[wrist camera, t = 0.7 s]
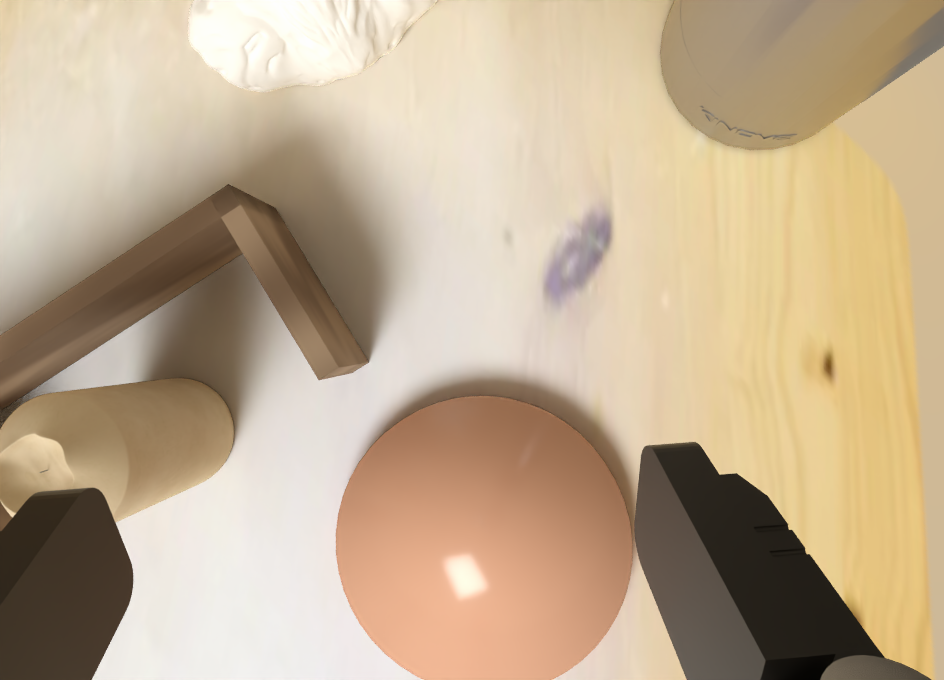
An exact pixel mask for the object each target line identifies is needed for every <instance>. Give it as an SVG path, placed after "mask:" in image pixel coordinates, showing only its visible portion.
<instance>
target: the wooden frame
mask: <svg viewBox="0 0 944 680" xmlns="http://www.w3.org/2000/svg"><path fill="white" fill-rule="evenodd" d="M242 253H243V255H244V256H245V258H246V260H247V261H248V263H249V265H250V266H251V268H252V270H253V271H254V273H255V275H256V276H257V278H258V280H259V281H260V283H261V285H262V286H263V288H264V290H265V291H266V293H267V295H268V296H269V298H270V300H271V301H272V303H273V305H274V306H275V308H276V310H277V311H278V313H279V315H280V316H281V318H282V320H283V321H284V323H285V325H286V326H287V328H288V330H289V331H290V333H291V335H292V336H293V338H294V340H295V341H296V343H297V345H298V346H299V348H300V350H301V351H302V353H303V355H304V356H305V358H306V360H307V361H308V363H309V365H310V366H311V368H312V370H313V371H314V373H315V375H316V376H317V378H318V380H322V379H327V378H331V377H336V376H340V375H345V374H349V373H353V372H354V371H356V370H357V369H359V368H361V367H362V366H364V365H365V364H367V363H369V362H368V360H367V359H366V357H365V355H364V354H363V352H362V350H361V349H360V347H359V345H358V344H357V342H356V340H355V339H354V337H353V335H352V334H351V332H350V330H349V329H348V327H347V325H346V324H345V322H344V321H343V319H342V317H341V316H340V314H339V312H338V311H337V309H336V307H335V306H334V304H333V302H332V301H331V299H330V297H329V296H328V294H327V292H326V291H325V289H324V287H323V286H322V284H321V282H320V281H319V279H318V278H317V276H316V274H315V273H314V271H313V269H312V268H311V266H310V264H309V263H308V261H307V259H306V258H305V256H304V254H303V253H302V251H301V249H300V248H299V246H298V244H297V243H296V241H295V240H294V238H293V236H292V235H291V233H290V231H289V230H288V228H287V226H286V225H285V223H284V221H283V220H282V218H281V216H280V215H279V213H278V211H277V210H276V208H274V207H272V206H270V205H268V204H266V203H264V202H262V201H260V200H258V199H256V198H254V197H253V196H251V195H249V194H247V193H245V192H243V191H241V190H239V189H237V188H235V187H233V186H231V185H229V184H228V185H227V186H225V187H224V188H222V189H221V190H219V191H218V192H216V193H215V194H213V195H212V196H210V197H209V198H207V199H206V200H204V201H203V202H201V203H200V204H198V205H197V206H195V207H194V208H192V209H191V210H189V211H188V212H186V213H184V214H183V215H181V216H180V217H178V218H177V219H175V220H174V221H172V222H171V223H169V224H168V225H166V226H165V227H163V228H162V229H160V230H159V231H157V232H156V233H154V234H153V235H151V236H150V237H148V238H147V239H145V240H144V241H142V242H141V243H139V244H138V245H136V246H135V247H133V248H132V249H130V250H129V251H127V252H126V253H124V254H123V255H121V256H120V257H118V258H117V259H115V260H114V261H112V262H111V263H109V264H107V265H106V266H104V267H103V268H101V269H100V270H98V271H97V272H95V273H94V274H92V275H91V276H89V277H88V278H86V279H85V280H83V281H82V282H80V283H79V284H77V285H76V286H74V287H73V288H71V289H70V290H68V291H67V292H65V293H64V294H62V295H61V296H59V297H58V298H56V299H55V300H53V301H52V302H50V303H49V304H47V305H46V306H44V307H43V308H41V309H40V310H38V311H37V312H35V313H34V314H32V315H30V316H29V317H27V318H26V319H24V320H23V321H21V322H20V323H18V324H17V325H15V326H14V327H12V328H11V329H9V330H8V331H6V332H5V333H3V334H2V335H0V411H1V410H2V409H4V408H5V407H7V406H9V405H10V404H12V403H13V402H15V401H16V400H18V399H19V398H21V397H22V396H24V395H25V394H27V393H29V392H30V391H32V390H33V389H35V388H36V387H38V386H39V385H41V384H42V383H44V382H45V381H47V380H48V379H50V378H52V377H53V376H55V375H56V374H58V373H59V372H61V371H62V370H64V369H65V368H67V367H68V366H70V365H72V364H73V363H75V362H76V361H78V360H79V359H81V358H82V357H84V356H85V355H87V354H88V353H90V352H92V351H93V350H95V349H96V348H98V347H99V346H101V345H102V344H104V343H105V342H107V341H108V340H110V339H111V338H113V337H115V336H116V335H118V334H119V333H121V332H122V331H124V330H125V329H127V328H128V327H130V326H131V325H133V324H135V323H136V322H138V321H139V320H141V319H142V318H144V317H145V316H147V315H148V314H150V313H151V312H153V311H155V310H156V309H158V308H159V307H161V306H162V305H164V304H165V303H167V302H168V301H170V300H171V299H173V298H174V297H176V296H178V295H179V294H181V293H182V292H184V291H185V290H187V289H188V288H190V287H191V286H193V285H194V284H196V283H198V282H199V281H201V280H202V279H204V278H205V277H207V276H208V275H210V274H211V273H213V272H214V271H216V270H218V269H219V268H221V267H222V266H224V265H225V264H227V263H228V262H230V261H231V260H233V259H234V258H236V257H237V256H239V255H241V254H242ZM11 519H12V517H11V516H10V514H9V513H8V512H7V510H6V509H5V508H4V506H3V505H2V503H1V501H0V531H2V530H3V529H4V527H5V526H6V525H7V524H8V523H9V521H10V520H11Z"/></svg>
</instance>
